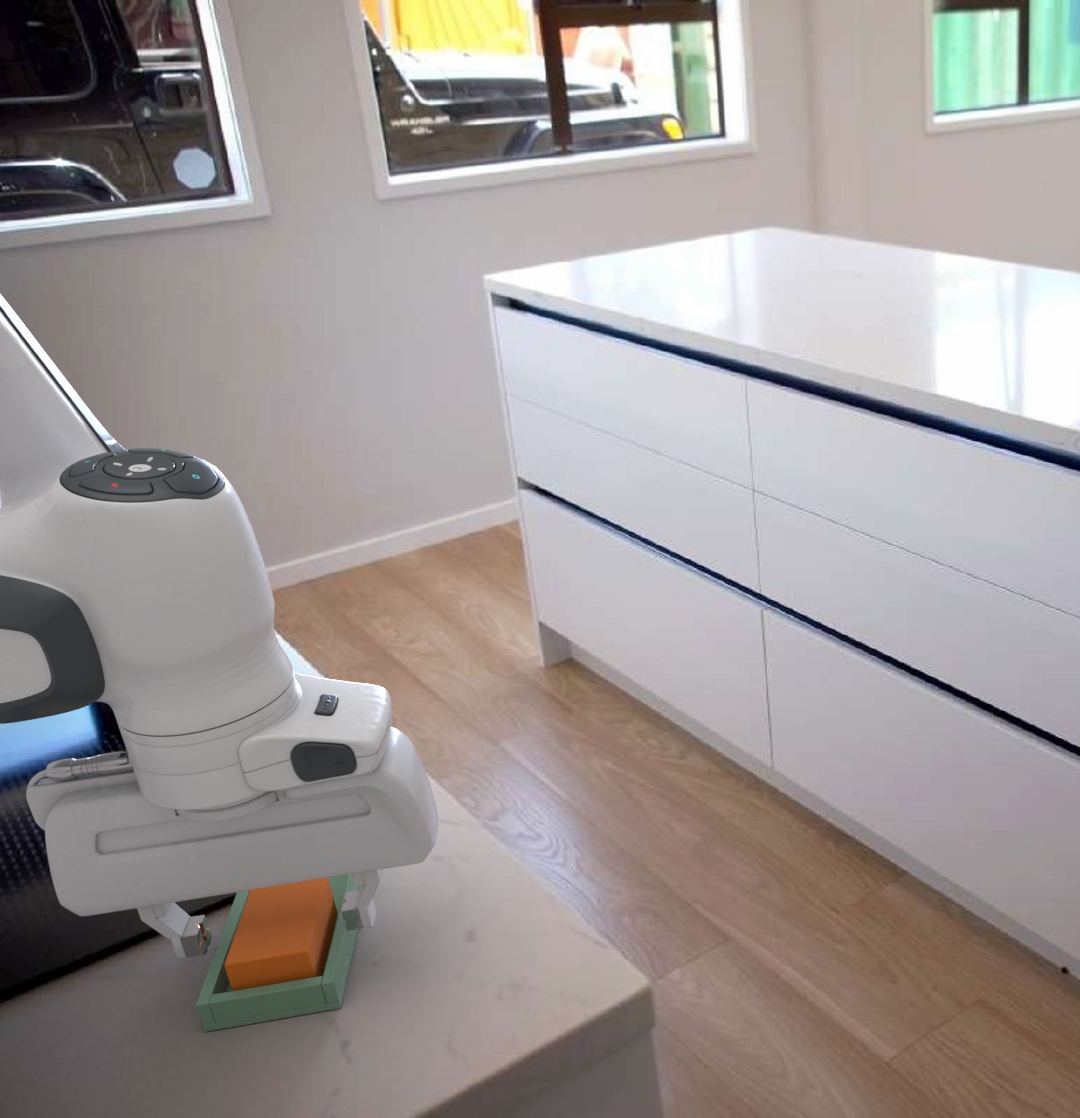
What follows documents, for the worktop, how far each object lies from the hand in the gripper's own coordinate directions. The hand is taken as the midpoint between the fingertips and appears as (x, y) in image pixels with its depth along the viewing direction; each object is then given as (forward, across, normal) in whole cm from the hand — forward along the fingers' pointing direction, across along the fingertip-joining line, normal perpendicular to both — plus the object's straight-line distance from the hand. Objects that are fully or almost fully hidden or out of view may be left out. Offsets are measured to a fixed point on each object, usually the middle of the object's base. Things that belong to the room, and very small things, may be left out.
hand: (279, 936), depth 75 cm
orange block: (+2, 0, 0) cm, 2 cm away
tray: (+2, 0, +4) cm, 4 cm away
